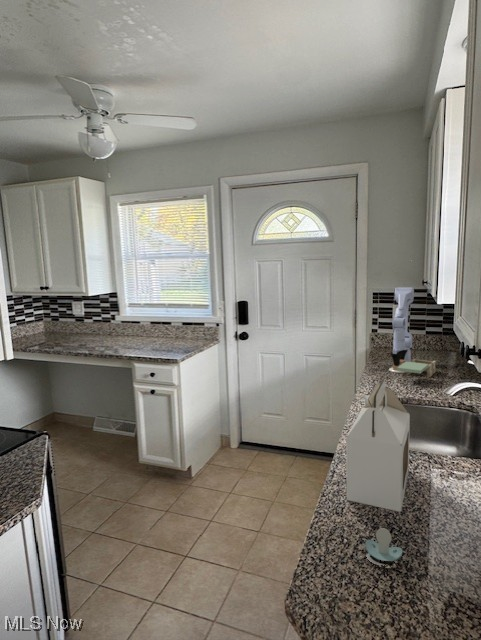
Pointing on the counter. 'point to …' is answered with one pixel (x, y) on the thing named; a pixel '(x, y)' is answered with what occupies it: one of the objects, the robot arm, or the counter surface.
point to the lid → (412, 367)
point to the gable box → (379, 451)
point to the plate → (396, 371)
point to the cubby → (430, 369)
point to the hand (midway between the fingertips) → (398, 364)
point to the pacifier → (382, 548)
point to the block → (399, 364)
